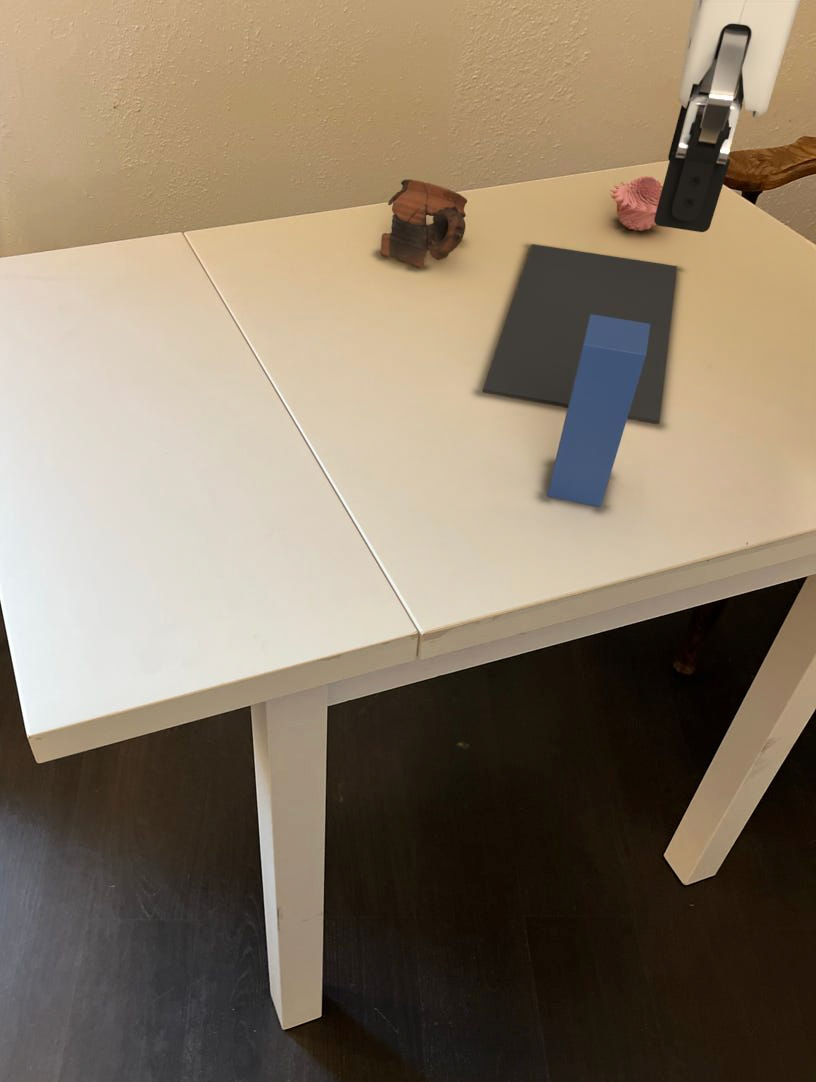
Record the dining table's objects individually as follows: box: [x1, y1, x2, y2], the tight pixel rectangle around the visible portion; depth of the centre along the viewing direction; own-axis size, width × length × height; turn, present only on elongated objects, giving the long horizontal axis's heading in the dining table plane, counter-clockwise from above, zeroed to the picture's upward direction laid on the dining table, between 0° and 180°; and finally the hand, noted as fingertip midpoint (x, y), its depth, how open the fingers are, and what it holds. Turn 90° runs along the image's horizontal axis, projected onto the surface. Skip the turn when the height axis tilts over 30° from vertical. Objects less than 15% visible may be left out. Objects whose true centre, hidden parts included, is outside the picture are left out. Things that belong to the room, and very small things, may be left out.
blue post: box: [546, 314, 650, 508], centre depth 74 cm, size 4×4×14 cm
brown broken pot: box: [380, 178, 468, 269], centre depth 104 cm, size 12×10×8 cm
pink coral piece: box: [609, 176, 663, 232], centre depth 109 cm, size 8×8×6 cm
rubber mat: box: [482, 243, 678, 425], centre depth 96 cm, size 16×30×1 cm, turn 164°
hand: (686, 193), depth 60 cm, fingers open, 9 cm apart
